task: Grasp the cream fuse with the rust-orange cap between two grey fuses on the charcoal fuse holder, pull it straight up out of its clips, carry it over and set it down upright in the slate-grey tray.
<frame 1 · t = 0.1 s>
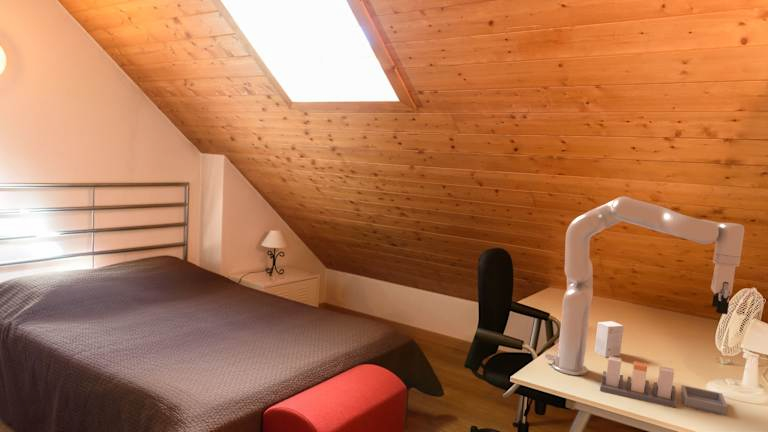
hand: (719, 310, 182), 31 cm above the table, tool pointing down, fingers open, 9 cm apart
marked fuse: (637, 389, 185), point 1 cm above the table, touching fuse holder
small box: (606, 354, 224), on the table
grey tray: (702, 404, 180), on the table
fuse holder: (636, 393, 185), on the table
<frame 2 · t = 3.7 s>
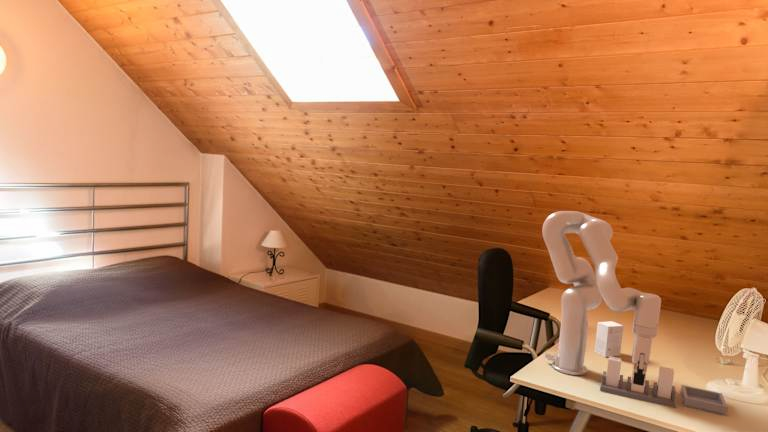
hand: (638, 381, 185), 4 cm above the table, tool pointing down, fingers closed on marked fuse, 3 cm apart
marked fuse: (637, 389, 185), point 2 cm above the table, touching gripper
everything else where it was.
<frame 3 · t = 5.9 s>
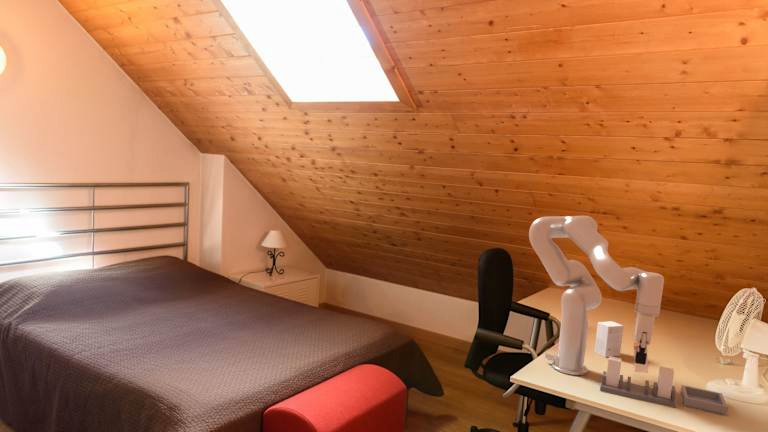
hand: (640, 360, 184), 12 cm above the table, tool pointing down, fingers closed on marked fuse, 4 cm apart
marked fuse: (641, 370, 184), point 8 cm above the table, tilted 8°, touching gripper
everything else where it was.
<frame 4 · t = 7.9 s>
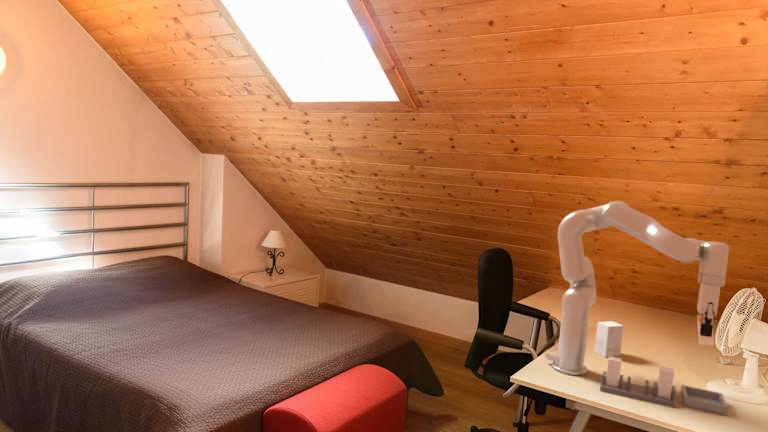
hand: (704, 333, 178), 24 cm above the table, tool pointing down, fingers closed on marked fuse, 4 cm apart
marked fuse: (706, 343, 178), point 21 cm above the table, tilted 10°, touching gripper
everything else where it was.
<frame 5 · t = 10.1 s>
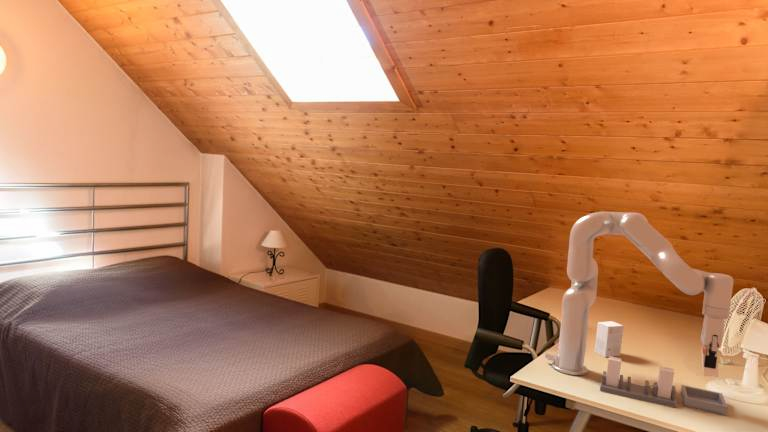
hand: (708, 364, 179), 14 cm above the table, tool pointing down, fingers closed on marked fuse, 4 cm apart
marked fuse: (710, 374, 179), point 10 cm above the table, tilted 10°, touching gripper
everything else where it was.
when the fingers open (5 cm above the table, at t = 12.1 s): marked fuse stays where it is, resting on grey tray.
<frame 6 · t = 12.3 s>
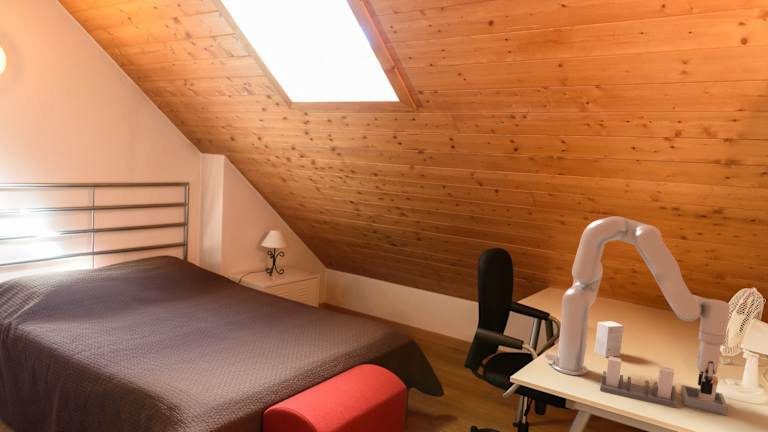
hand: (704, 389, 180), 5 cm above the table, tool pointing down, fingers open, 6 cm apart
marked fuse: (705, 402, 180), point 1 cm above the table, touching grey tray
everything else where it was.
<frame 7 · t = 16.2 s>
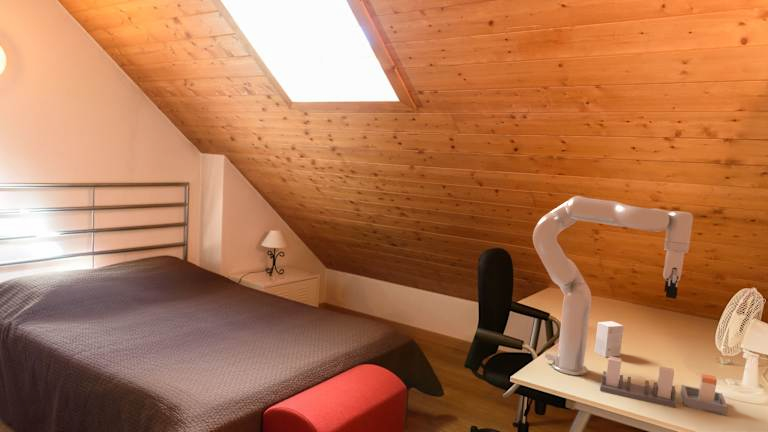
hand: (670, 295, 190), 33 cm above the table, tool pointing down, fingers open, 9 cm apart
nothing on the table moved.
at the end: marked fuse 0.8 cm off-centre on the grey tray, point 0.6 cm above the grey tray's base; marked fuse tilted 0°; the gripper is holding nothing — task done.
